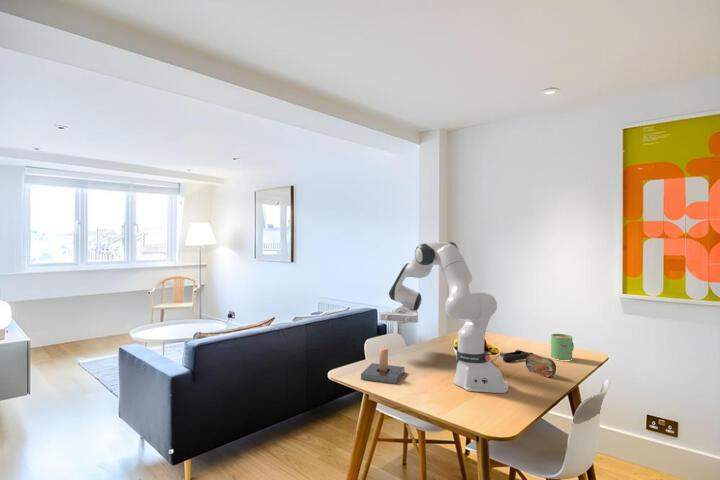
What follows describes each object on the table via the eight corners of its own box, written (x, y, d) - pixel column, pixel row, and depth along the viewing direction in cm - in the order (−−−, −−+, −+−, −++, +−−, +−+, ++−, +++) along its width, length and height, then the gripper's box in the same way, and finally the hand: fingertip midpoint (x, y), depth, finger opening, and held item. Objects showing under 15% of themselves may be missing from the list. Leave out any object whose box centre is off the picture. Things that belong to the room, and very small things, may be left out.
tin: (524, 369, 190) (525, 352, 190) (529, 368, 192) (529, 351, 192) (552, 379, 177) (552, 360, 177) (557, 378, 179) (557, 360, 179)
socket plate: (404, 372, 185) (404, 367, 185) (396, 384, 169) (396, 378, 169) (371, 368, 190) (372, 363, 190) (361, 379, 175) (361, 373, 175)
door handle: (486, 351, 214) (508, 357, 200) (513, 347, 223) (537, 353, 208) (486, 357, 214) (508, 364, 199) (513, 353, 222) (537, 359, 208)
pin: (388, 374, 181) (389, 348, 181) (386, 377, 177) (386, 351, 177) (380, 373, 182) (380, 347, 182) (377, 376, 178) (378, 350, 178)
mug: (560, 362, 203) (560, 338, 203) (546, 356, 213) (546, 334, 213) (581, 360, 206) (581, 337, 206) (566, 355, 216) (566, 333, 216)
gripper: (383, 308, 217) (376, 312, 204) (420, 310, 211) (415, 314, 197) (383, 319, 217) (376, 324, 204) (420, 322, 210) (415, 327, 197)
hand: (395, 319), depth 201 cm, fingers open, 8 cm apart
